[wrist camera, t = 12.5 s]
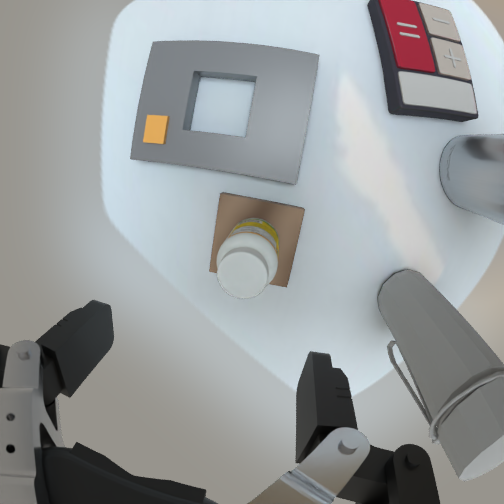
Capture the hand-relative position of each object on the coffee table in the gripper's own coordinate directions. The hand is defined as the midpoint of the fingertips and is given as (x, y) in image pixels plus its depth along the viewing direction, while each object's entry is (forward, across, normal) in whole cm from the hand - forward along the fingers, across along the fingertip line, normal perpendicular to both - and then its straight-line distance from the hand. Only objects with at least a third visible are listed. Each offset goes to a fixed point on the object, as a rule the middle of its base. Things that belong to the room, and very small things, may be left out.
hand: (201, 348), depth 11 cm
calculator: (+24, -16, -24) cm, 37 cm away
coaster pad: (+23, 0, +2) cm, 23 cm away
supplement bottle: (+22, 0, +2) cm, 22 cm away
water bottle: (+23, -19, +6) cm, 31 cm away
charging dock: (+23, +6, -12) cm, 26 cm away
